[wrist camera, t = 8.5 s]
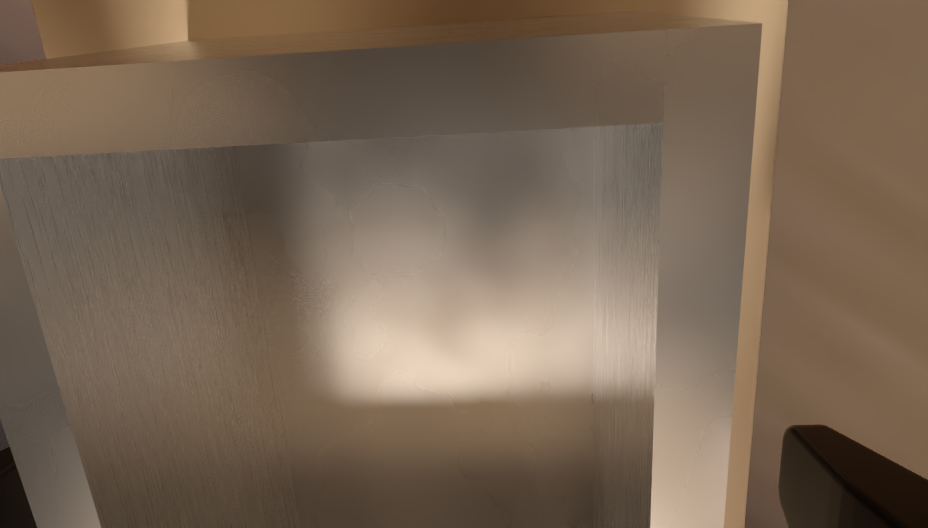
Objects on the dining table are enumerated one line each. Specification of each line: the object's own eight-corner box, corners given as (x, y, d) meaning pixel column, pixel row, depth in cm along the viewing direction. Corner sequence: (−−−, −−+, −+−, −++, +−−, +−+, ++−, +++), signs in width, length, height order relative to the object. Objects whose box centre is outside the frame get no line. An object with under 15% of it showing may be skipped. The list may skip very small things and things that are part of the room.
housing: (624, 604, 13) (690, 960, 8) (295, 605, 13) (176, 939, 8) (634, 10, 9) (763, 23, 4) (187, 40, 10) (-114, 79, 5)
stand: (730, -137, 11) (804, -182, 8) (691, 566, 16) (730, 687, 13) (122, -84, 12) (2, -109, 9) (260, 569, 17) (210, 684, 14)
